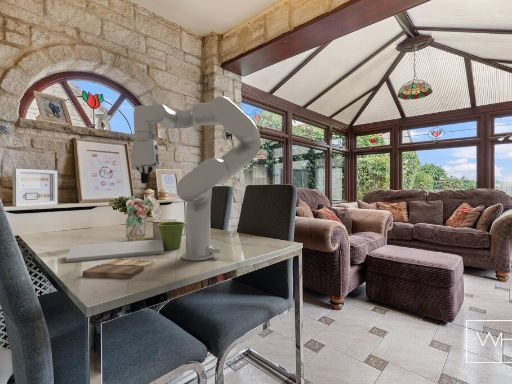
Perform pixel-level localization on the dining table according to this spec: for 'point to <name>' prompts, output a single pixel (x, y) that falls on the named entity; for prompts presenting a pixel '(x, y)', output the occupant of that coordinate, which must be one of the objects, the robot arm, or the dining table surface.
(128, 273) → the floor row
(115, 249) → the decorative molding
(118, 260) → the plank
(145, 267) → the plank
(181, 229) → the plant pot
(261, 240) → the dining table surface
